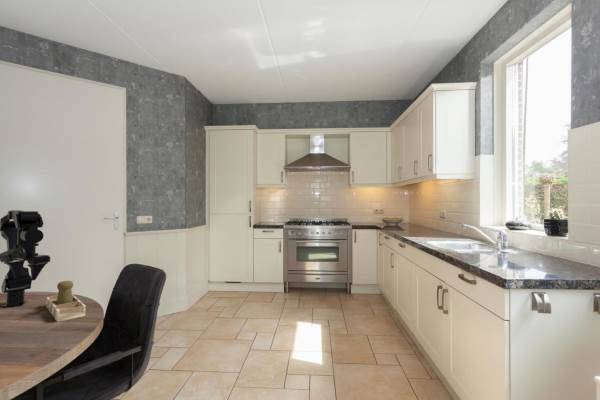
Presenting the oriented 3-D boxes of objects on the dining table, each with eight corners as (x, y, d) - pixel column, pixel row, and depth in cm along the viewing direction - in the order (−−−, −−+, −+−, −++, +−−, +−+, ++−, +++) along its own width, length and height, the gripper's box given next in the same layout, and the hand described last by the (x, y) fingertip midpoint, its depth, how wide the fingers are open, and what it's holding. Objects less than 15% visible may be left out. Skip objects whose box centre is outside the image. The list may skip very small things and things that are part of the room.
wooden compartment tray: (45, 306, 127) (46, 296, 127) (70, 301, 133) (71, 292, 133) (57, 321, 110) (57, 311, 110) (85, 315, 117) (85, 305, 117)
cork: (76, 304, 126) (77, 279, 126) (69, 309, 120) (70, 282, 120) (59, 306, 124) (60, 279, 124) (52, 311, 118) (52, 283, 118)
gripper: (-15, 242, 116) (-17, 282, 115) (21, 244, 111) (19, 286, 111) (18, 239, 126) (17, 276, 126) (52, 241, 122) (50, 279, 122)
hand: (25, 279), depth 121 cm, fingers open, 9 cm apart
